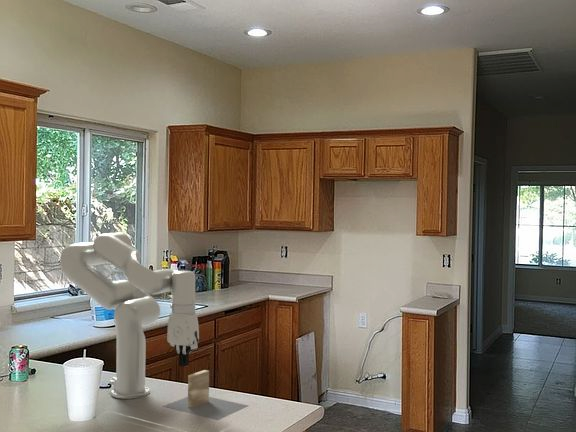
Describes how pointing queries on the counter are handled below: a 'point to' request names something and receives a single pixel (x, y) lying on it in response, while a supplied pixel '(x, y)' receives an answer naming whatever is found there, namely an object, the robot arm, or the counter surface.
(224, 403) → the rubber mat
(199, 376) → the birch tile
